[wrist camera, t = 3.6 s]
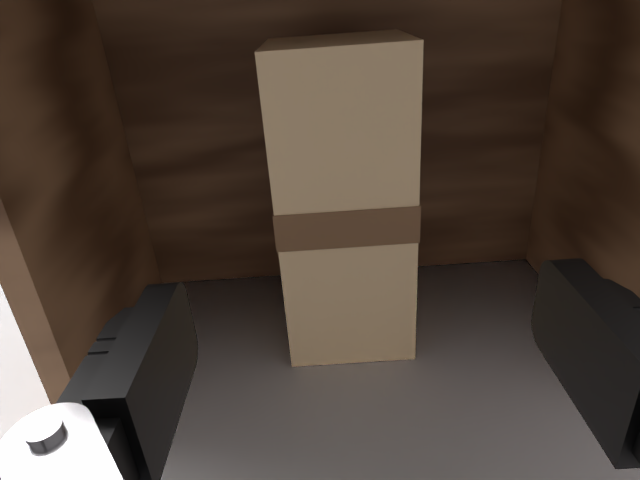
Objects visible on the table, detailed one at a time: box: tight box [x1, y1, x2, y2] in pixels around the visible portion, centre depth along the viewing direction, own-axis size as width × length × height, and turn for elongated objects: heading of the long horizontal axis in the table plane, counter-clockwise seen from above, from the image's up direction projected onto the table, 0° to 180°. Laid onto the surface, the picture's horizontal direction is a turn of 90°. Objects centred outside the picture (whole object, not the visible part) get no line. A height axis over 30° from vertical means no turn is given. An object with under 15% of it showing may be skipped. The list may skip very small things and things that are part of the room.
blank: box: [255, 29, 424, 367], centre depth 19 cm, size 5×5×12 cm
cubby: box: [0, 0, 640, 405], centre depth 19 cm, size 11×22×17 cm, turn 90°
